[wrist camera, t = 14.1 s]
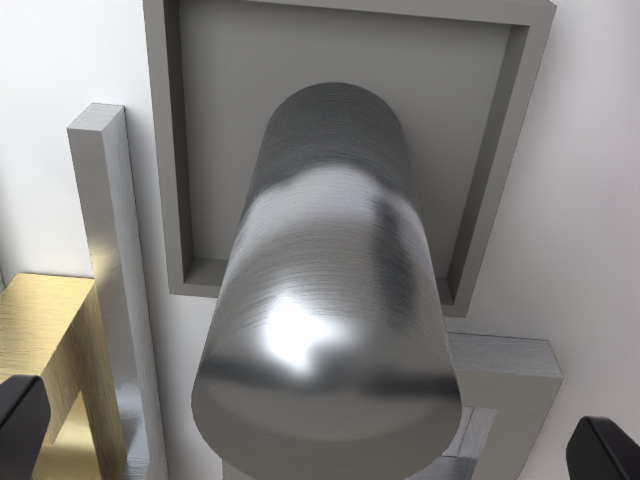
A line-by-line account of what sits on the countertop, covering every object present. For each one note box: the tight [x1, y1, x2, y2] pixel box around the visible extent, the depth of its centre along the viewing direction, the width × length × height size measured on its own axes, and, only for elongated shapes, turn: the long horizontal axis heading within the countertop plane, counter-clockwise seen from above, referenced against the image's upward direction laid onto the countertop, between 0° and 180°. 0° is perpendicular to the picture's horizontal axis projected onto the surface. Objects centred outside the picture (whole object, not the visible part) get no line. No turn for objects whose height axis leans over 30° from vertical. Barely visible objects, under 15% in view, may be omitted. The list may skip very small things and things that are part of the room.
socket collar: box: [222, 333, 564, 480], centre depth 25 cm, size 13×10×2 cm
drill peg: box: [191, 82, 462, 480], centre depth 13 cm, size 4×4×10 cm
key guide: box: [0, 103, 169, 480], centre depth 21 cm, size 7×21×6 cm, turn 176°
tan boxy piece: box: [0, 273, 127, 480], centre depth 23 cm, size 3×14×5 cm, turn 175°
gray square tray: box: [143, 0, 557, 318], centre depth 17 cm, size 10×10×2 cm
